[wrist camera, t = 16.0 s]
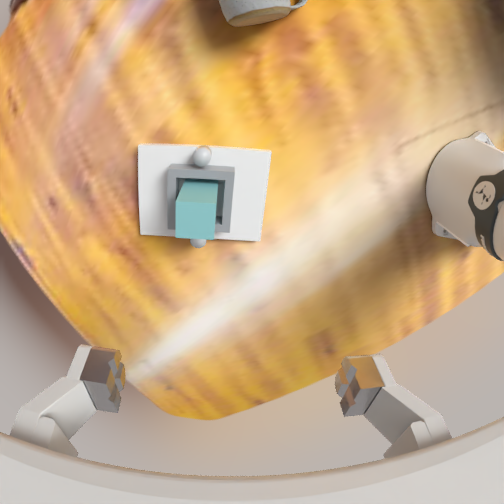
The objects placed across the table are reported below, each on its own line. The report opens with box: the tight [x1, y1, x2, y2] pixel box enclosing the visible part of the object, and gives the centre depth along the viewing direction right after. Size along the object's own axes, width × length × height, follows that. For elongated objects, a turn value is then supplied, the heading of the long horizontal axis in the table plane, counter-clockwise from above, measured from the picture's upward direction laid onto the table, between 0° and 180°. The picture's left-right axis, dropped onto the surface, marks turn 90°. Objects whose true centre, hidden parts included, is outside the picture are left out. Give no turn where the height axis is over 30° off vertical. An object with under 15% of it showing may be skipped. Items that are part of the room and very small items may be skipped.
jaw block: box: [176, 178, 218, 240], centre depth 35 cm, size 4×4×8 cm
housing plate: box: [138, 143, 271, 248], centre depth 38 cm, size 16×12×4 cm
